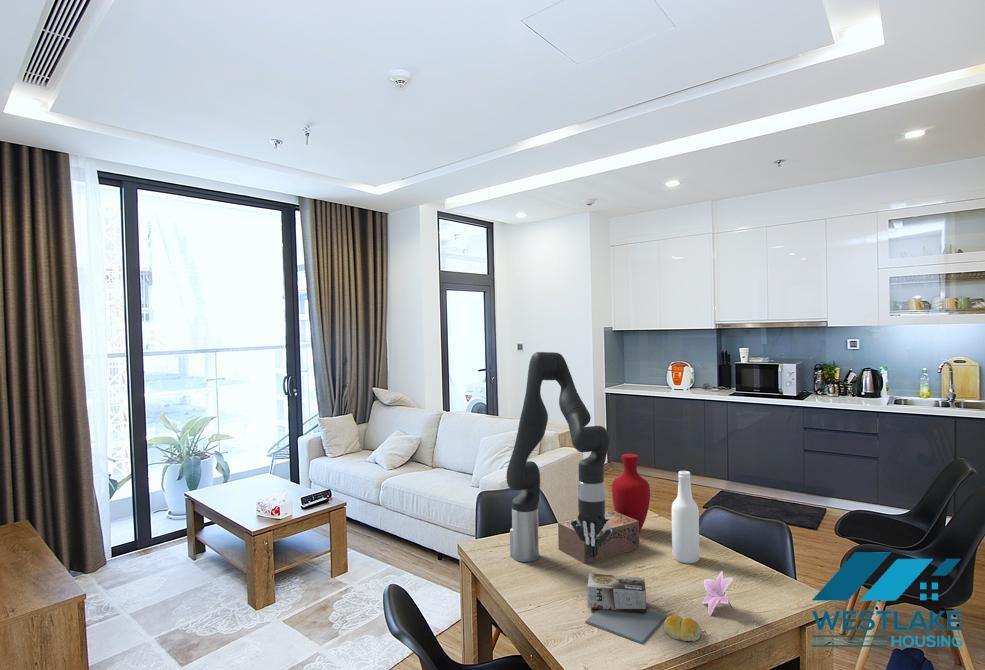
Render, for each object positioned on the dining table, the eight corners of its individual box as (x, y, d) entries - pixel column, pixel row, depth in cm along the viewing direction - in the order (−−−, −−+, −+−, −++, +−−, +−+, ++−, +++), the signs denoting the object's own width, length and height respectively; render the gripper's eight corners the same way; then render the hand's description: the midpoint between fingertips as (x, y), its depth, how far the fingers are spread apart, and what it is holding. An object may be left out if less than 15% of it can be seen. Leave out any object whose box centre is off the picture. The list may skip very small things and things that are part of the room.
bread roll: (668, 621, 144) (667, 607, 144) (702, 631, 139) (702, 615, 139) (659, 636, 137) (659, 620, 137) (696, 646, 132) (696, 630, 132)
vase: (613, 537, 204) (612, 459, 204) (611, 523, 218) (610, 450, 218) (653, 539, 201) (651, 460, 201) (648, 525, 216) (647, 451, 216)
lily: (706, 597, 159) (691, 571, 158) (746, 589, 153) (731, 562, 152) (707, 629, 148) (691, 602, 147) (750, 622, 143) (734, 594, 142)
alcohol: (675, 551, 189) (673, 467, 189) (701, 556, 185) (699, 470, 185) (669, 561, 182) (668, 473, 182) (697, 566, 177) (695, 476, 177)
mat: (585, 622, 144) (585, 620, 144) (612, 599, 156) (612, 597, 156) (641, 643, 134) (641, 641, 134) (666, 617, 146) (666, 614, 146)
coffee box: (587, 608, 150) (646, 614, 146) (587, 585, 150) (646, 591, 146) (589, 594, 159) (645, 599, 155) (589, 572, 159) (645, 577, 155)
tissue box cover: (611, 535, 206) (611, 510, 206) (639, 548, 194) (638, 521, 194) (558, 550, 193) (558, 522, 193) (584, 564, 181) (583, 535, 181)
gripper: (564, 495, 152) (565, 556, 152) (606, 504, 144) (607, 568, 144) (577, 489, 158) (578, 547, 158) (618, 497, 150) (619, 558, 150)
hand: (592, 557), depth 151 cm, fingers closed
